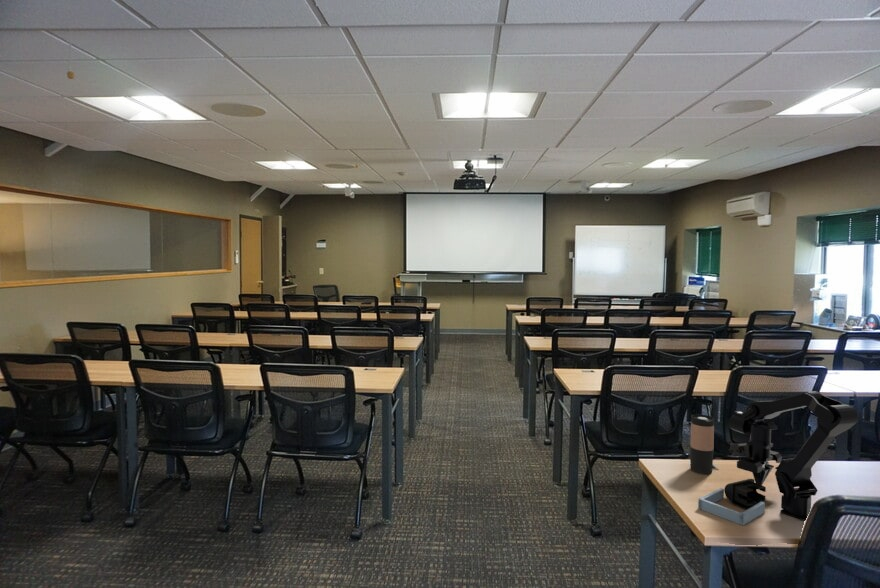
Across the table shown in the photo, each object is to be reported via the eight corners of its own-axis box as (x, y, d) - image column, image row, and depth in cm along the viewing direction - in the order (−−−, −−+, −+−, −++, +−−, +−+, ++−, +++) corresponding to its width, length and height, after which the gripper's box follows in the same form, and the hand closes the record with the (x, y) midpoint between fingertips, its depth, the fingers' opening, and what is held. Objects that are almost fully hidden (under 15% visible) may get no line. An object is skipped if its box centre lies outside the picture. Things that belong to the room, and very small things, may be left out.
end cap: (744, 496, 165) (745, 475, 165) (766, 505, 158) (766, 484, 158) (723, 501, 161) (724, 480, 161) (744, 510, 154) (745, 489, 154)
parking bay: (764, 512, 153) (764, 502, 153) (743, 525, 145) (743, 515, 145) (720, 496, 164) (720, 487, 164) (698, 508, 156) (698, 498, 156)
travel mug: (692, 465, 191) (693, 413, 190) (714, 470, 186) (716, 416, 186) (687, 471, 185) (688, 417, 184) (710, 476, 180) (712, 421, 180)
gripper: (747, 428, 176) (746, 472, 177) (720, 437, 166) (719, 484, 166) (783, 436, 167) (781, 483, 168) (757, 447, 157) (755, 496, 157)
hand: (758, 486), depth 165 cm, fingers closed
